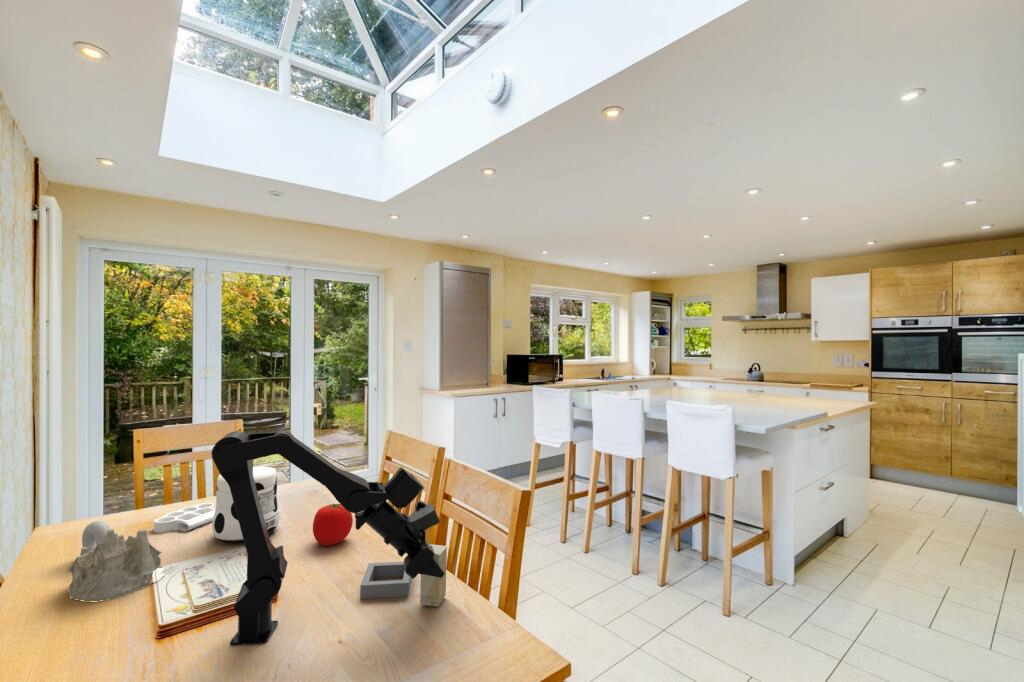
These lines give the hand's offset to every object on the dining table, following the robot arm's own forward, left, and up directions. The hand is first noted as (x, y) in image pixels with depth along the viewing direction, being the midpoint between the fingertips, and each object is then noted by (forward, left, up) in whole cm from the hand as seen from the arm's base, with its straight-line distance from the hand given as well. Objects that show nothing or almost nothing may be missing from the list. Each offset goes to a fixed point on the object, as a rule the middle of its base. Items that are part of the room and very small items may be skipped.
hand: (439, 568), depth 103 cm
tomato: (+34, +31, -7) cm, 47 cm away
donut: (+29, +88, -7) cm, 93 cm away
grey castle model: (+16, +75, -7) cm, 77 cm away
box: (0, +1, -7) cm, 7 cm away
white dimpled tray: (+54, +79, -8) cm, 96 cm away
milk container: (+42, +57, -7) cm, 71 cm away
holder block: (+8, +12, -7) cm, 16 cm away
